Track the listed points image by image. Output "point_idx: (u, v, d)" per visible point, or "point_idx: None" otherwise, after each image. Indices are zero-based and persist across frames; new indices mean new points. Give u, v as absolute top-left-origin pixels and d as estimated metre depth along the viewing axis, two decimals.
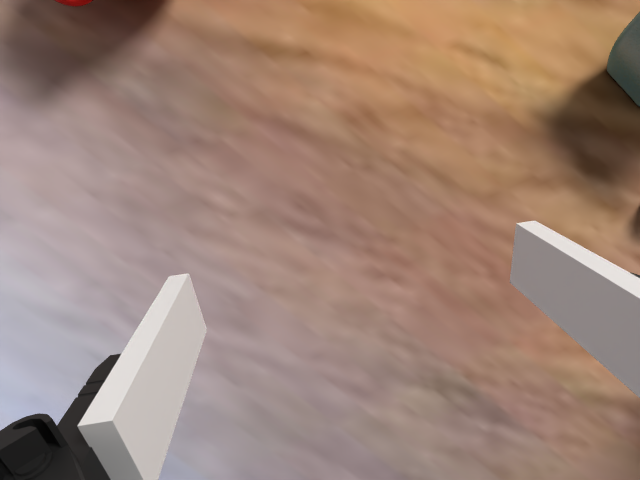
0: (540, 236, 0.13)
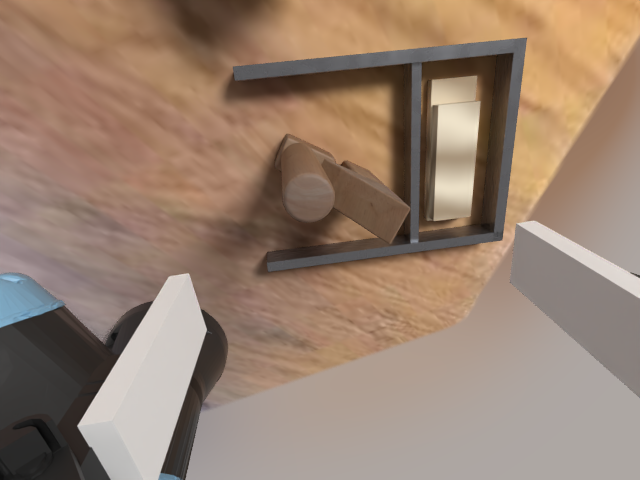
0: (540, 236, 0.13)
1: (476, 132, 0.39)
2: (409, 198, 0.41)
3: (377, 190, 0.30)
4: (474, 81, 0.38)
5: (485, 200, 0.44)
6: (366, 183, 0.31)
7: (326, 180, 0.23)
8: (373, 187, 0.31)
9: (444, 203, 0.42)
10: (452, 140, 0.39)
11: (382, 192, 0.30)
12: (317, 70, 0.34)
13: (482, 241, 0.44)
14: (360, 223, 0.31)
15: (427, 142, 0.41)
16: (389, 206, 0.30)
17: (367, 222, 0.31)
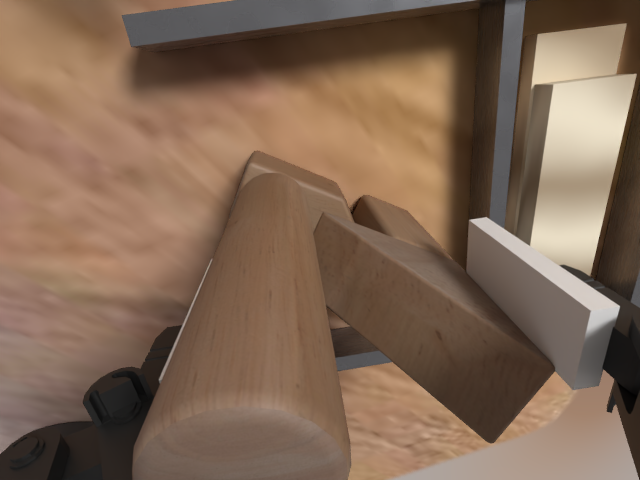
0: (487, 231, 0.14)
1: (620, 136, 0.20)
2: None
3: (454, 303, 0.12)
4: (619, 35, 0.19)
5: (607, 251, 0.26)
6: (424, 280, 0.13)
7: (313, 421, 0.05)
8: (443, 293, 0.12)
9: None
10: (573, 152, 0.20)
11: (468, 310, 0.12)
12: (306, 18, 0.16)
13: None
14: (409, 372, 0.13)
15: (516, 155, 0.22)
16: (488, 350, 0.12)
17: (429, 374, 0.13)
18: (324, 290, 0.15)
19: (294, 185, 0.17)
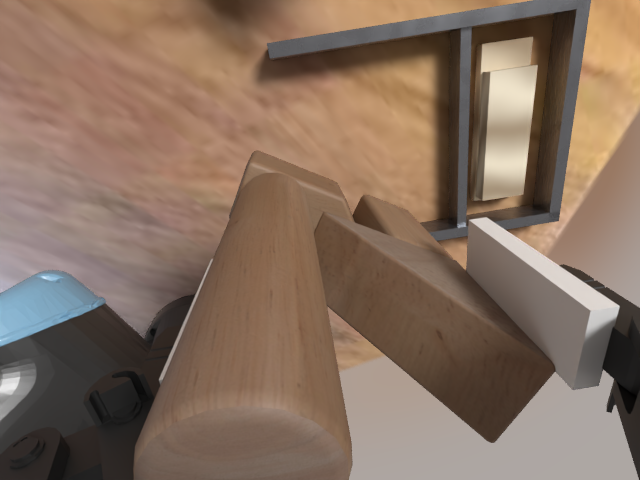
0: (487, 231, 0.14)
1: (532, 101, 0.35)
2: (456, 179, 0.38)
3: (455, 302, 0.12)
4: (529, 43, 0.34)
5: (538, 178, 0.41)
6: (424, 280, 0.13)
7: (314, 420, 0.05)
8: (443, 293, 0.12)
9: (494, 181, 0.38)
10: (505, 110, 0.35)
11: (469, 309, 0.12)
12: (357, 42, 0.32)
13: (536, 222, 0.40)
14: (410, 372, 0.13)
15: (475, 114, 0.37)
16: (489, 349, 0.12)
17: (430, 374, 0.13)
18: (325, 290, 0.15)
19: (294, 185, 0.17)
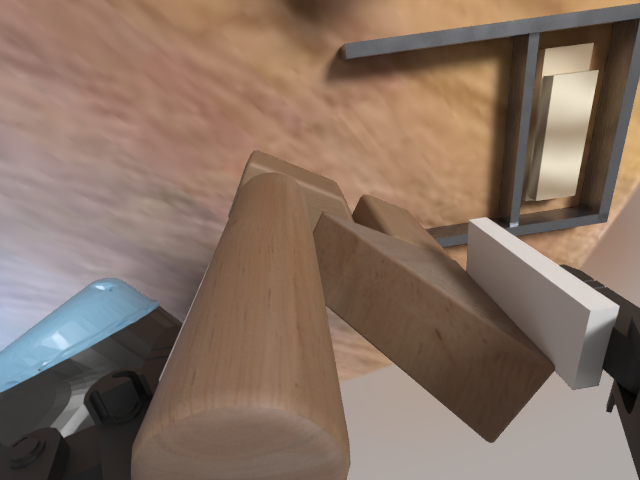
0: (487, 231, 0.14)
1: (591, 104, 0.36)
2: (511, 180, 0.40)
3: (454, 302, 0.12)
4: (590, 49, 0.36)
5: (587, 181, 0.42)
6: (423, 280, 0.13)
7: (311, 420, 0.05)
8: (442, 293, 0.12)
9: (549, 181, 0.39)
10: (564, 113, 0.37)
11: (468, 309, 0.12)
12: (431, 44, 0.32)
13: (586, 223, 0.41)
14: (409, 372, 0.13)
15: (532, 117, 0.39)
16: (488, 349, 0.12)
17: (429, 374, 0.13)
18: (324, 290, 0.15)
19: (294, 185, 0.17)
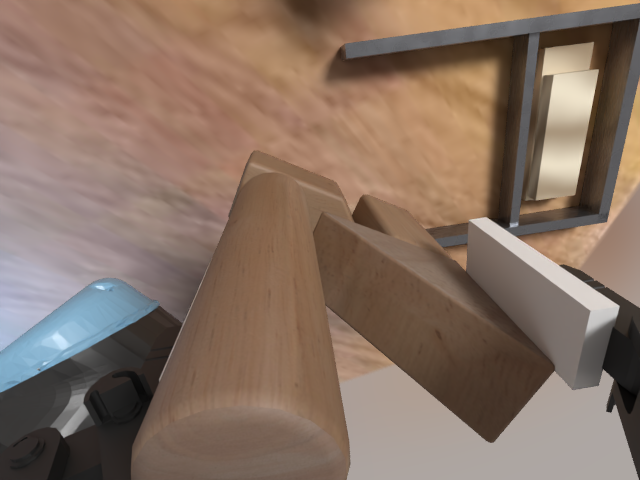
0: (487, 231, 0.14)
1: (591, 104, 0.36)
2: (511, 180, 0.40)
3: (454, 302, 0.12)
4: (590, 48, 0.36)
5: (587, 181, 0.42)
6: (423, 280, 0.13)
7: (311, 420, 0.05)
8: (442, 293, 0.12)
9: (549, 181, 0.39)
10: (564, 113, 0.37)
11: (468, 309, 0.12)
12: (431, 44, 0.32)
13: (586, 223, 0.41)
14: (409, 372, 0.13)
15: (532, 116, 0.39)
16: (488, 349, 0.12)
17: (429, 374, 0.13)
18: (324, 290, 0.15)
19: (294, 185, 0.17)
